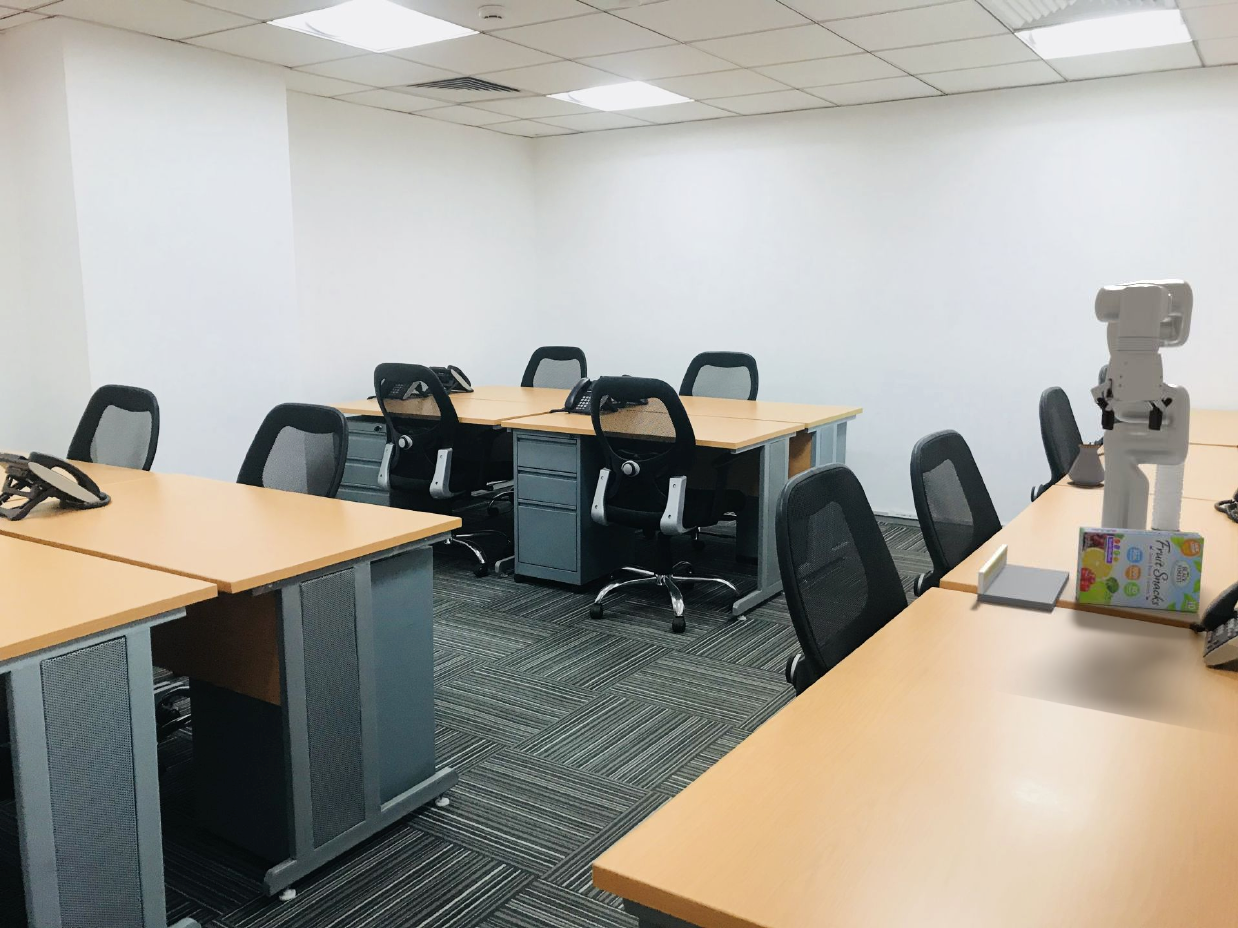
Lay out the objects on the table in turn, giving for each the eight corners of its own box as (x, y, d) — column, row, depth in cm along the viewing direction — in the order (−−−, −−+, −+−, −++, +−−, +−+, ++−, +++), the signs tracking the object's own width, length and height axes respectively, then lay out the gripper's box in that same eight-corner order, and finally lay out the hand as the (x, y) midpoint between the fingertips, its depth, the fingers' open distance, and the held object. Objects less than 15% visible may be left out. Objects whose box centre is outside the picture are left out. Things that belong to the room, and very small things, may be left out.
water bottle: (1175, 532, 246) (1184, 438, 242) (1148, 528, 251) (1155, 436, 247) (1183, 526, 253) (1191, 434, 249) (1156, 523, 257) (1164, 432, 253)
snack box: (1191, 605, 188) (1198, 531, 185) (1198, 613, 183) (1205, 538, 180) (1074, 595, 195) (1079, 524, 192) (1078, 603, 189) (1083, 530, 187)
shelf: (1001, 569, 214) (1002, 544, 213) (1069, 578, 207) (1070, 551, 206) (976, 600, 192) (978, 571, 191) (1051, 611, 185) (1053, 581, 184)
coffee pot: (1064, 484, 313) (1067, 440, 311) (1070, 479, 323) (1073, 435, 320) (1137, 490, 301) (1141, 444, 299) (1141, 485, 311) (1144, 440, 308)
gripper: (1168, 346, 196) (1161, 428, 198) (1086, 346, 196) (1080, 428, 198) (1190, 346, 189) (1183, 431, 191) (1104, 346, 189) (1098, 431, 191)
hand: (1130, 429), depth 195 cm, fingers open, 9 cm apart
